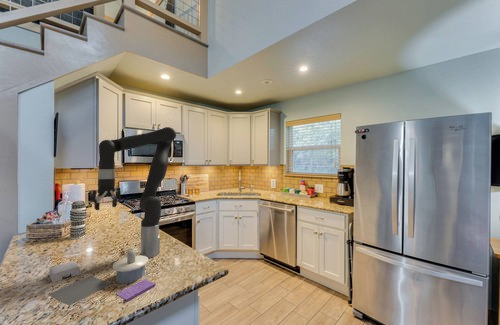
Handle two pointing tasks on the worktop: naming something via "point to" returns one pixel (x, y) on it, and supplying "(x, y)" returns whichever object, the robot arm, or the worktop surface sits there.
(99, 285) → the mat
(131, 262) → the lid
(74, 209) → the decorative candle
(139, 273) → the bowl
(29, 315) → the worktop surface
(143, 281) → the sponges
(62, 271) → the charger
